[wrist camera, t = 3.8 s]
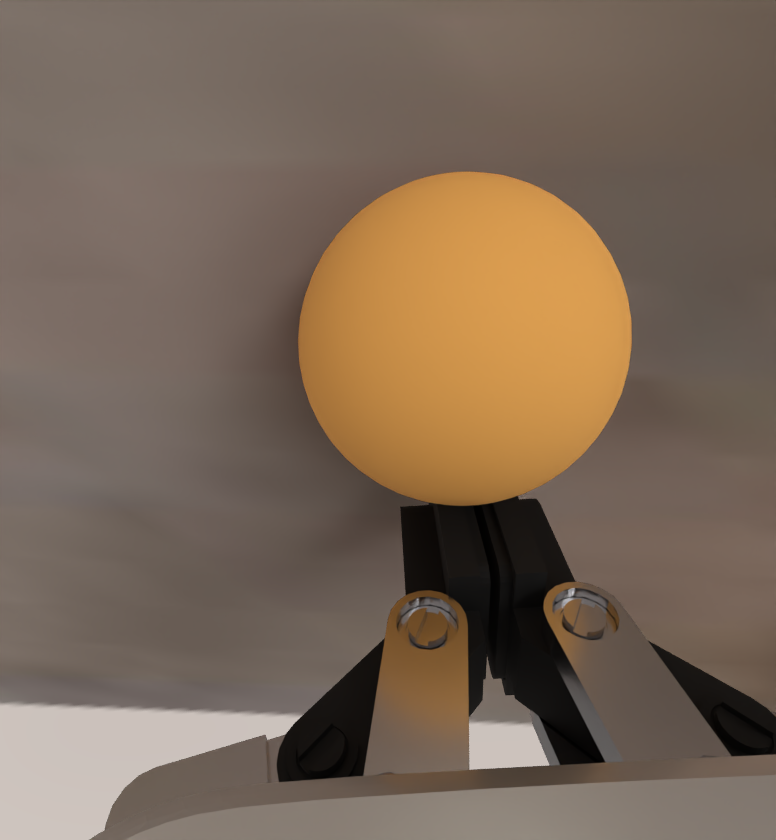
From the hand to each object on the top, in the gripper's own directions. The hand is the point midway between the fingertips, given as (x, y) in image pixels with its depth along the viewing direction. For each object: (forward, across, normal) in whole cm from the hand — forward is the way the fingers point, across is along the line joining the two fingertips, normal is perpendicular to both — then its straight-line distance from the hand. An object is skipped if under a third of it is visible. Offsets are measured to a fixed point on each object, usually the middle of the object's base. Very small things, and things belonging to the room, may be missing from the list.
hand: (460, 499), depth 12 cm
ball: (-1, 0, -4) cm, 5 cm away
